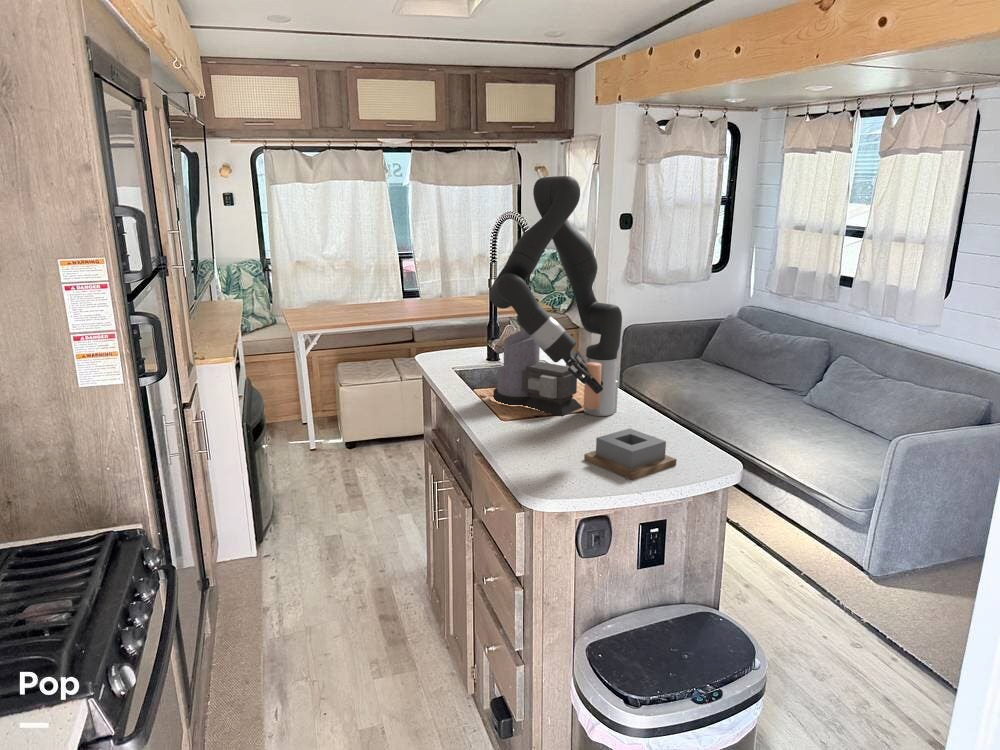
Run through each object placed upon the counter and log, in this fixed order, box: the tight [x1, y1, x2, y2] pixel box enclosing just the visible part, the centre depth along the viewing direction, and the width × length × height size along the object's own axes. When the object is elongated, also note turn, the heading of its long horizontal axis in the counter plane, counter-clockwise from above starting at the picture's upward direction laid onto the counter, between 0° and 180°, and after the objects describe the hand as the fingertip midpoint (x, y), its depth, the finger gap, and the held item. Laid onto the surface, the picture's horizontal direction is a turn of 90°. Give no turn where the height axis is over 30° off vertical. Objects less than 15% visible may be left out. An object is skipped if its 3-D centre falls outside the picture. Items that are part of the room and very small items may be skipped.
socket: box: [595, 427, 667, 469], centre depth 177 cm, size 12×12×4 cm
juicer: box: [492, 328, 583, 417], centre depth 224 cm, size 30×16×24 cm, turn 53°
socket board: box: [583, 450, 677, 481], centre depth 178 cm, size 16×16×2 cm
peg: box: [583, 362, 602, 409], centre depth 178 cm, size 4×4×11 cm
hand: (600, 388), depth 178 cm, fingers closed on peg, 4 cm apart
